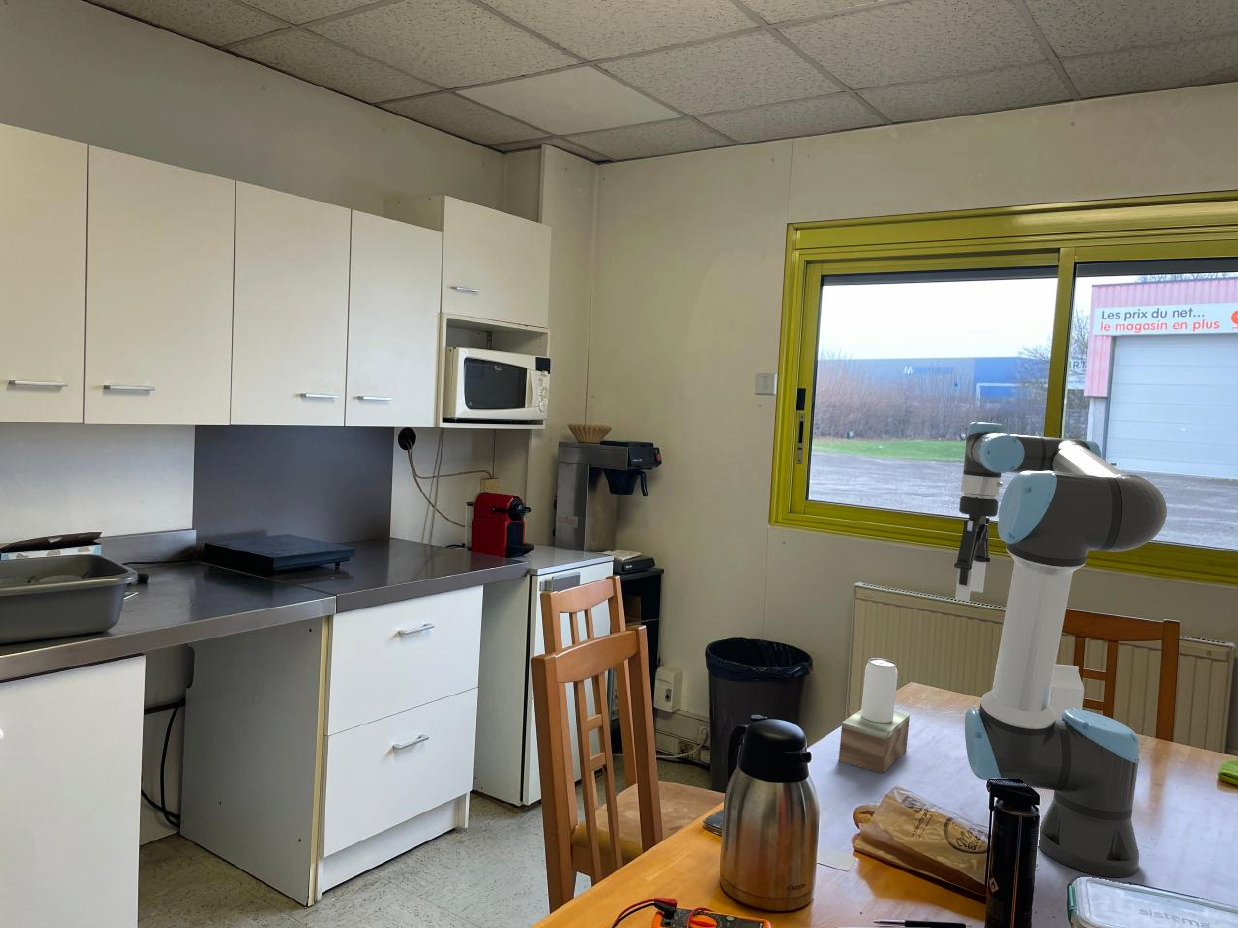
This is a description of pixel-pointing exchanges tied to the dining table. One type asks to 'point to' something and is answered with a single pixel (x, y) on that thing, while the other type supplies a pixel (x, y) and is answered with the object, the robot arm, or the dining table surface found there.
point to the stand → (873, 741)
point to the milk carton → (1066, 690)
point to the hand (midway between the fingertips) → (969, 595)
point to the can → (879, 691)
